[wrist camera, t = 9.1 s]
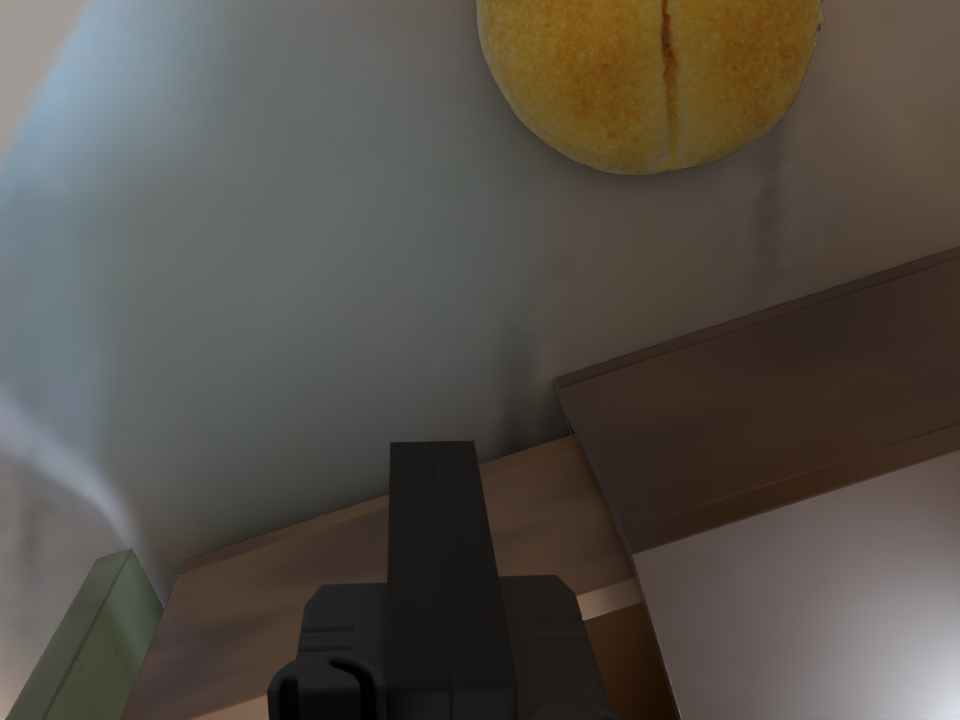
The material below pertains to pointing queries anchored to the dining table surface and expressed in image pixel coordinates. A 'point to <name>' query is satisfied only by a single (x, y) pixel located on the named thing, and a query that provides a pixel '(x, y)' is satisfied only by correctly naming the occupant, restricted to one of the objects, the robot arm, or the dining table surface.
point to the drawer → (294, 580)
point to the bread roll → (648, 74)
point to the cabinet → (794, 500)
